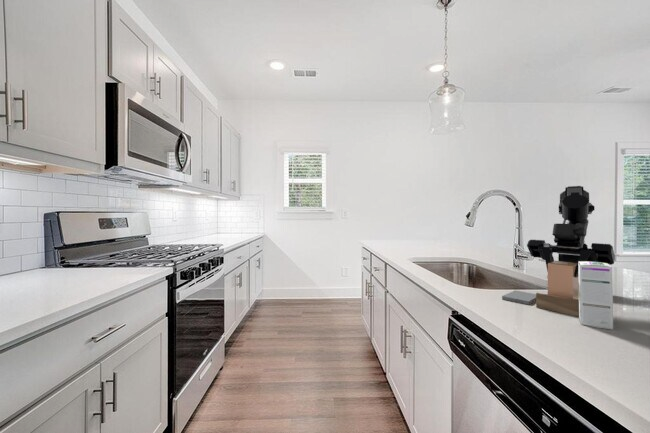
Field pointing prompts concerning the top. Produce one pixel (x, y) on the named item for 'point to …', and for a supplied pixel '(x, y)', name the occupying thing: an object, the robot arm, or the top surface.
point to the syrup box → (595, 294)
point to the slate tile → (520, 297)
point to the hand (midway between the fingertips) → (561, 274)
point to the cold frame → (557, 304)
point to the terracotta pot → (563, 280)
